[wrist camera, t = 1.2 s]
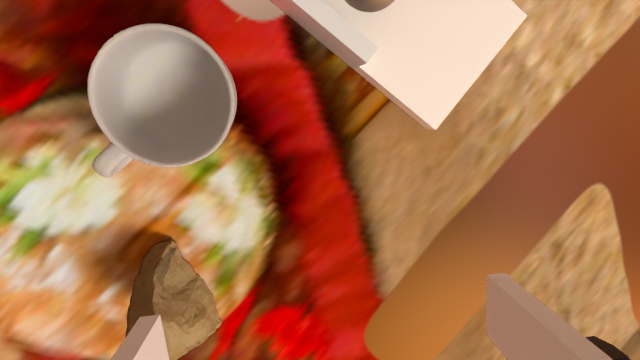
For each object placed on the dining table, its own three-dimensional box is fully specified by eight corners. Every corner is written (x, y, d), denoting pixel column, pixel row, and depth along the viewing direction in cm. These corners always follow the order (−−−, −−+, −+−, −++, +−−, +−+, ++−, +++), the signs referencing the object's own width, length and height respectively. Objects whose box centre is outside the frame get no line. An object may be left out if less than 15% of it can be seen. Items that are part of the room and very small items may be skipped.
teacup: (198, 16, 34) (171, -9, 27) (267, 113, 37) (261, 117, 29) (79, 102, 35) (20, 103, 27) (155, 192, 38) (120, 217, 30)
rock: (115, 238, 36) (102, 336, 36) (145, 267, 30) (128, 385, 30) (217, 235, 43) (205, 317, 44) (258, 257, 37) (243, 352, 38)
